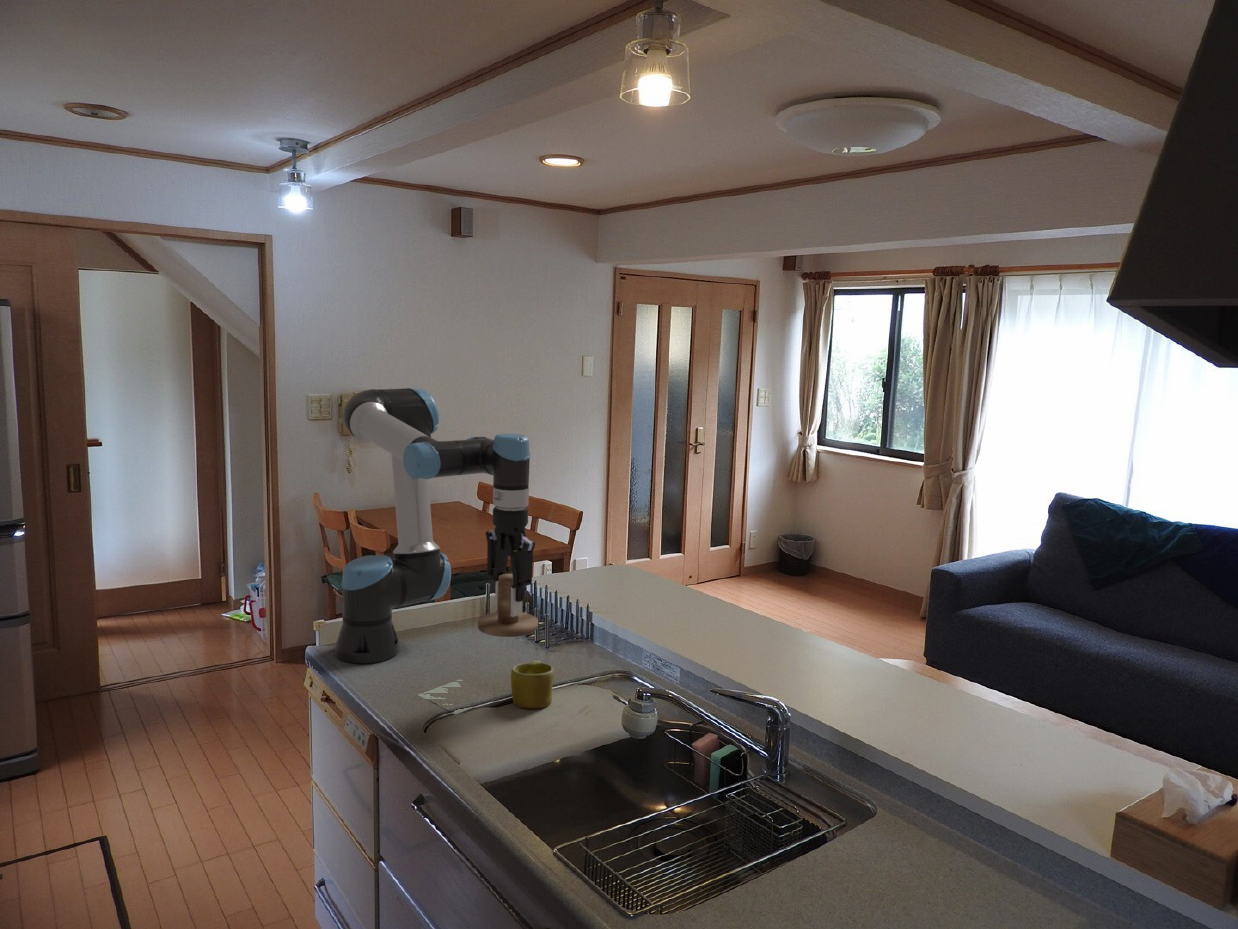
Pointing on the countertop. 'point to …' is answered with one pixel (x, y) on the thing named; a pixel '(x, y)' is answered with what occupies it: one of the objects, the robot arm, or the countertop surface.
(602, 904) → the countertop surface
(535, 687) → the mug
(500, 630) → the wooden peg stand
